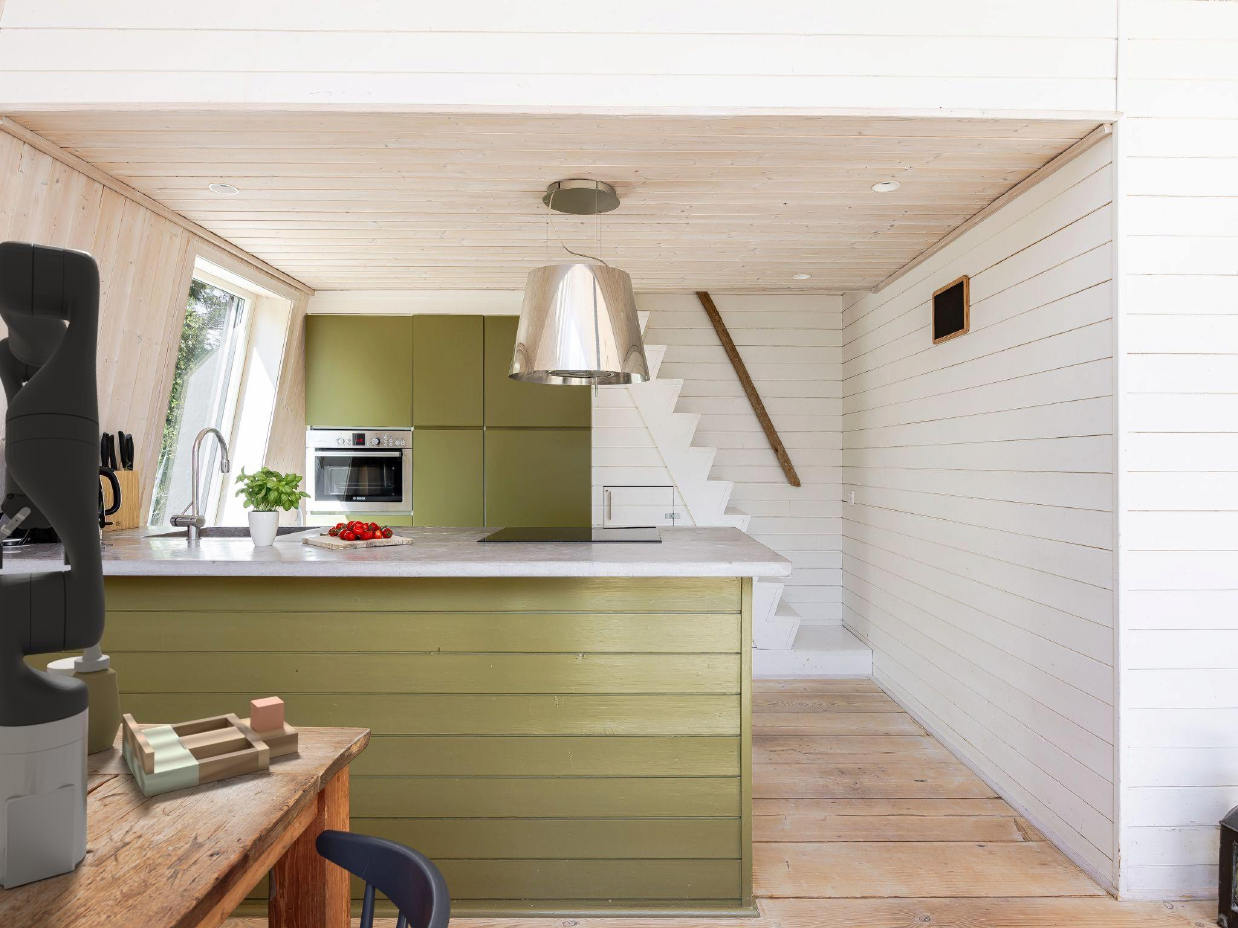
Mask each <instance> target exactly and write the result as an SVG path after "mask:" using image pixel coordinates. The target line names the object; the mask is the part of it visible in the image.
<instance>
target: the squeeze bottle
mask: <svg viewBox="0 0 1238 928" xmlns="http://www.w3.org/2000/svg"><path fill="white" fill-rule="evenodd" d="M82 656H83V657H80V656H79V657H80V658H77V659H76V660H75V661H74V670H75V671H76V672H73V673H72V674H70V675H69V676H68V677H73V678H77V679H80V680H82V681H84V682H85V683H86V684H87V686H88V689H89V705H88V754H94V753H98V752H101V751H105V750H108V749H109V748H111V747H112V746H113V745H114V743H115V740H116V736H117V734H118V732H119V730H120V728H121V727H120V726H121V723H122V722H123V719H122V713H121V712H122V711H121V710H122V709H121V701H120V693H119V684H118V673H117V671H116V670H114V669H113V668H111V667H110V666H111V662H110V660H111V657H110V656H109V655H108V654H107V655H106V654H103V653H102V650H101V646H100V641H99V642H98V643H97V644H96V645H95V646H93V647H90V648H86V649H84V650H83V654H82Z"/></svg>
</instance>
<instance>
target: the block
mask: <svg viewBox="0 0 1238 928" xmlns="http://www.w3.org/2000/svg"><path fill="white" fill-rule="evenodd" d="M249 708H250V710H249V711H250V713H249V716H250V717H249V718H250V726H251V727H252V728H253V729H254V730H255V731H256V732H262V731H267V730H271V729H276V728H281V727H284V721H285V702H284V701H283V700H282V699H280V698H279V697H278V696H277V695H275V696H270V697H266V698H259V699H254V700H253V699H252V700H250V707H249Z"/></svg>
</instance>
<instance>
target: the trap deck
mask: <svg viewBox="0 0 1238 928" xmlns="http://www.w3.org/2000/svg"><path fill="white" fill-rule="evenodd" d="M121 723H122V727H121V729H122V731H121V732H122V733H121V736H122V738H121V739H122V740H121V741H122V742H121V743H122V744H121V753H122V756H123V758H124V760H125V761H126V763H127V764H128V767H129V769H130V771H131V773H132V775H133V776H134V778H135V780H136V783H137V784H138V786H139V788H140V790H141V791H142V792H141V793H143V795H144V798H149V797H152V796H157V795H161V794H165V793H169V792H174V791H178V790H182V789H186V788H191V787H196V786H199V785H202V784H207V783H211V782H216V781H220V780H225V779H228V778H234V777H237V776H242V775H246V774H250V773H255V772H258V771H263V770H266V769H270V759H271V758H276V757H279V756H283V755H289V754H294V753H298V752H299V732H298V731H297V730H296V729H294V728H293V727H292V726H291V725H290V724H289V723H288V722H286V721H285V720H284V727H281V728H276V729H271V730H267V731H262V732H256V731H255V730H254V729H253V728H252V727H251V726H250V717H245V718H241V719H240V718H239V717H238V716H237V715H236V714H235V713H234V712H232V713H227V714H221V715H217V716H216V715H215V716H211V717H205V718H200V719H199V718H198V719H194V720H189V721H184V722H179V723H173V724H168V725H163V726H158V727H151V728H146V729H142V730H141V728H140V727H139V725H138V723H137V721H136V720H135V719H134V717H133V715H132V714H131V713H124V714H122V722H121Z"/></svg>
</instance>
